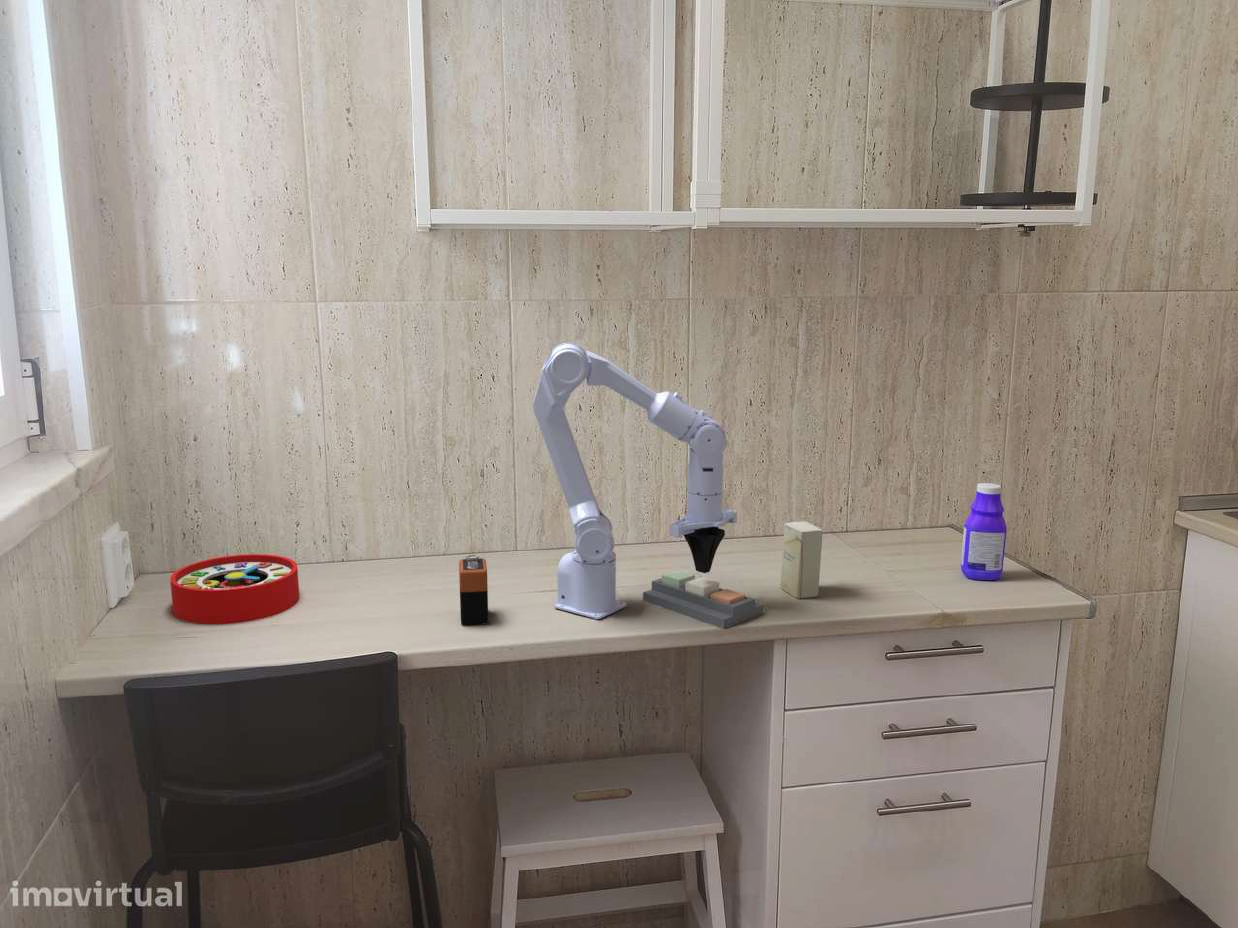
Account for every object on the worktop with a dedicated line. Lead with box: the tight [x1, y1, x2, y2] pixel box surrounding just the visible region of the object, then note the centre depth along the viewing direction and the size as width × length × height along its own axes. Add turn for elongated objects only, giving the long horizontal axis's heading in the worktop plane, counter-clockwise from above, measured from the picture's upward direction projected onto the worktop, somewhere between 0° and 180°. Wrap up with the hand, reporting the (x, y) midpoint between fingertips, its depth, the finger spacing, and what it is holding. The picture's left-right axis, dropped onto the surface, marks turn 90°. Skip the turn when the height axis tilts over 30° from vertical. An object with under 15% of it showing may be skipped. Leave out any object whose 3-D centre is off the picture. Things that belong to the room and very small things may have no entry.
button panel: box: [642, 577, 764, 629], centre depth 165 cm, size 18×10×3 cm, turn 44°
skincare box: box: [780, 520, 824, 600], centre depth 172 cm, size 6×4×12 cm
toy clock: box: [169, 553, 300, 625], centre depth 166 cm, size 20×6×20 cm
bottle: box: [960, 482, 1008, 581], centre depth 180 cm, size 7×6×17 cm
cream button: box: [685, 576, 720, 596], centre depth 165 cm, size 4×4×2 cm
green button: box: [661, 569, 696, 588], centre depth 169 cm, size 4×4×2 cm
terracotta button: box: [710, 588, 746, 605], centre depth 161 cm, size 4×4×2 cm
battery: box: [458, 554, 489, 626], centre depth 159 cm, size 4×7×10 cm, turn 10°
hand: (702, 571), depth 164 cm, fingers closed
